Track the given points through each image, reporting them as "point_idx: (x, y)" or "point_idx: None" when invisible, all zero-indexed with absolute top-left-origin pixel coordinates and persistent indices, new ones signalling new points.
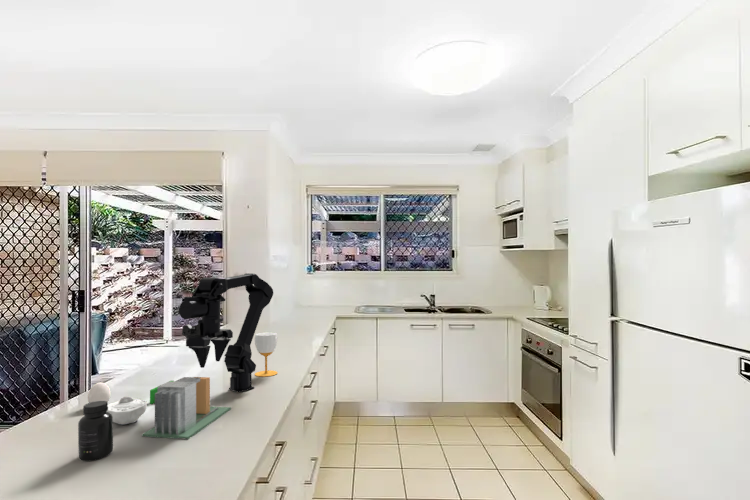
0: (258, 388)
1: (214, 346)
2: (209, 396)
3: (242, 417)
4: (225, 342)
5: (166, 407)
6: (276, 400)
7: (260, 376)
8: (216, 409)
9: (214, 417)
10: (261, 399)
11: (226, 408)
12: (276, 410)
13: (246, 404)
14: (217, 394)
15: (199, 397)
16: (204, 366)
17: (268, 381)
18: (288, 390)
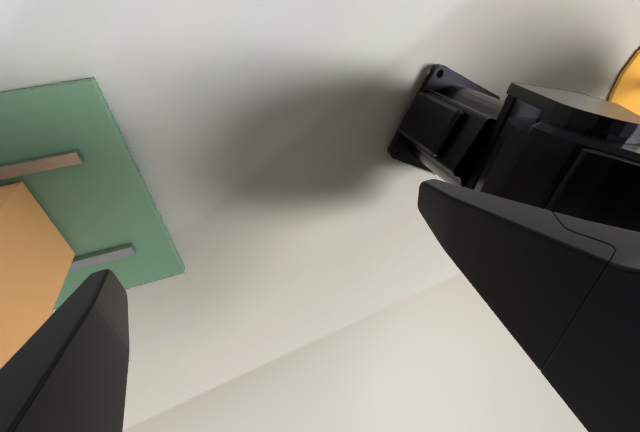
0: None
1: (593, 260)
2: (47, 313)
3: (136, 345)
4: (589, 421)
5: None
6: (324, 315)
7: (616, 84)
8: (117, 256)
9: None
10: (323, 277)
11: (163, 268)
12: (241, 366)
13: (258, 273)
14: (352, 57)
15: None
16: (125, 304)
17: None
18: (422, 283)
